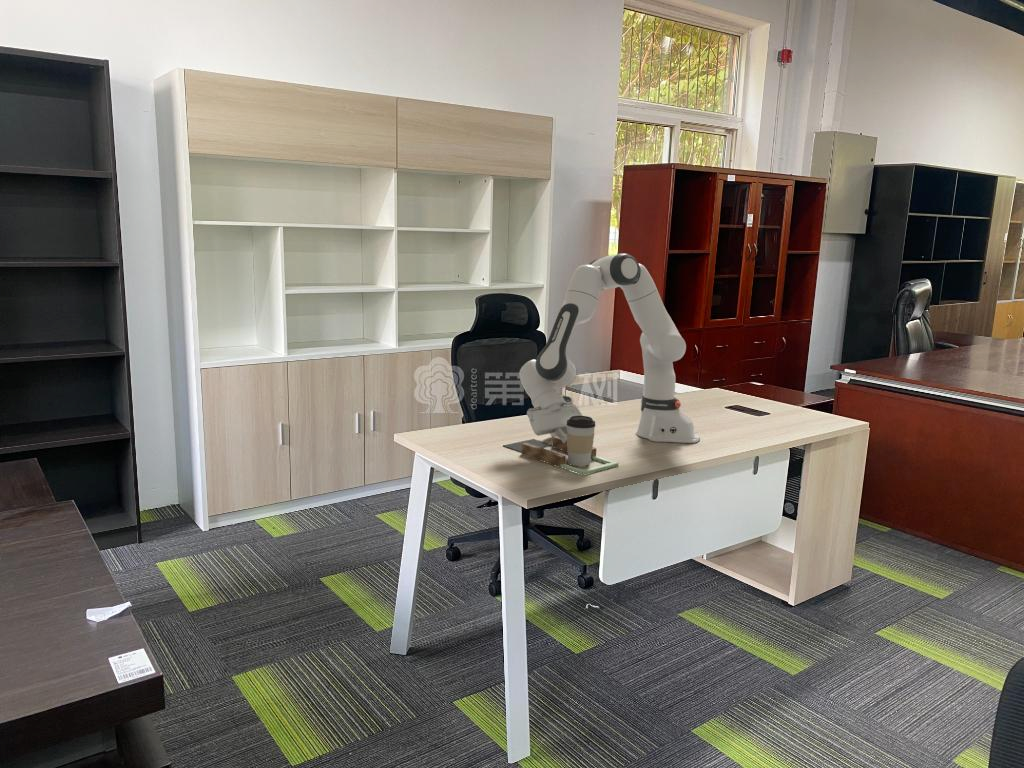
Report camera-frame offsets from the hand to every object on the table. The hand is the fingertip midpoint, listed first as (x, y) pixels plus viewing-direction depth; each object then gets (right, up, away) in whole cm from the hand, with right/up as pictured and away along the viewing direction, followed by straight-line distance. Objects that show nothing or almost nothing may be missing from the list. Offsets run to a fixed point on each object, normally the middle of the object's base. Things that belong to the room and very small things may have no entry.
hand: (568, 441), depth 238 cm
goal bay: (+6, -7, -5) cm, 11 cm away
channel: (-3, -5, +4) cm, 7 cm away
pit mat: (-13, -3, +15) cm, 20 cm away
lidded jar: (0, -1, +26) cm, 26 cm away
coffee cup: (+3, -7, -2) cm, 8 cm away
